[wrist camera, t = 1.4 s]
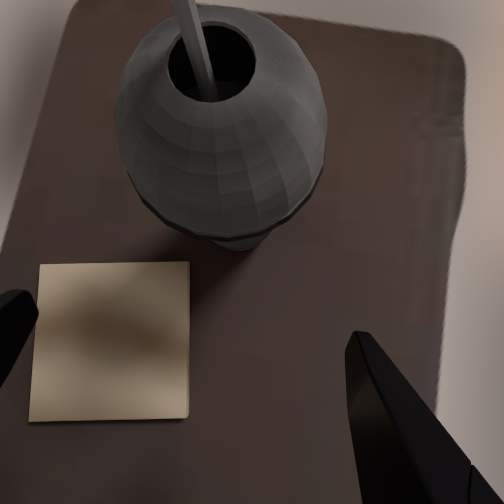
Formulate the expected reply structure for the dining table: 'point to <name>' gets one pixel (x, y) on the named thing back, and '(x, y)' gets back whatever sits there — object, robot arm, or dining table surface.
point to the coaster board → (111, 342)
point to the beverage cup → (221, 124)
